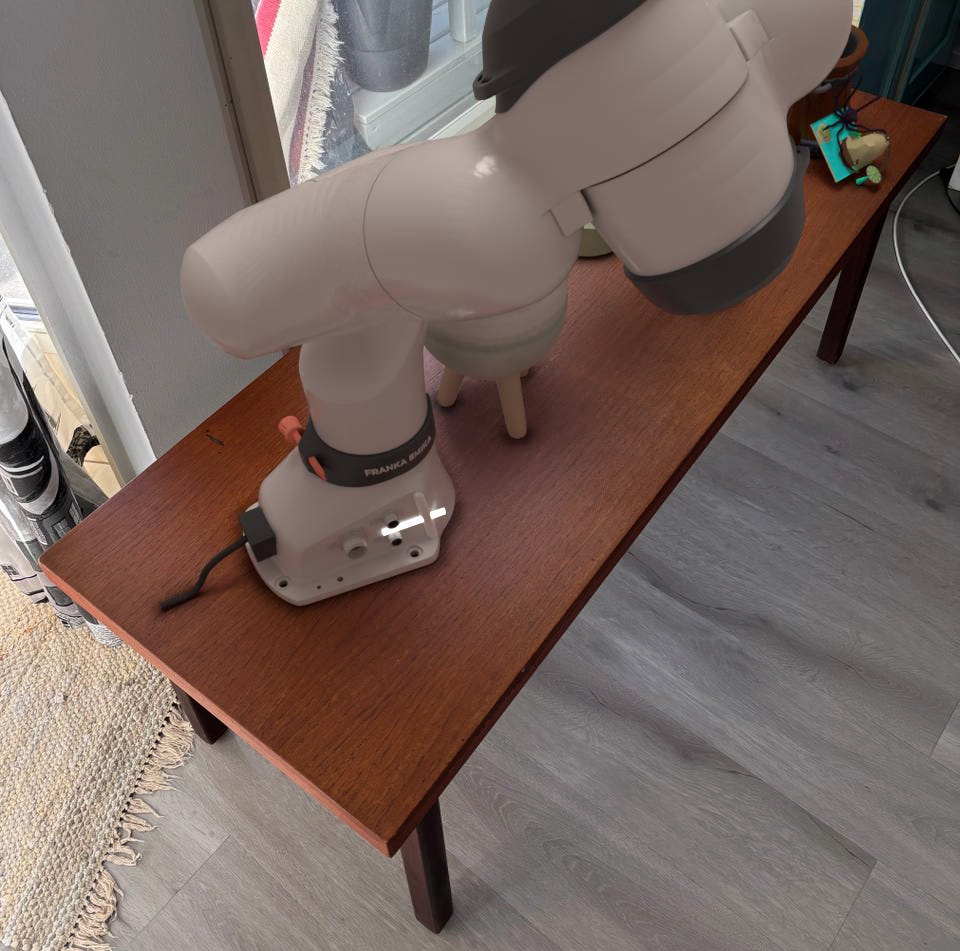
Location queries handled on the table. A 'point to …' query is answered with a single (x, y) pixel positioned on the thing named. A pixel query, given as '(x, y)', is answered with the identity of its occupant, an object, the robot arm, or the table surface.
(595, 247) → the bowl
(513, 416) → the planter
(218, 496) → the table surface
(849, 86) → the mug
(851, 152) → the diorama
